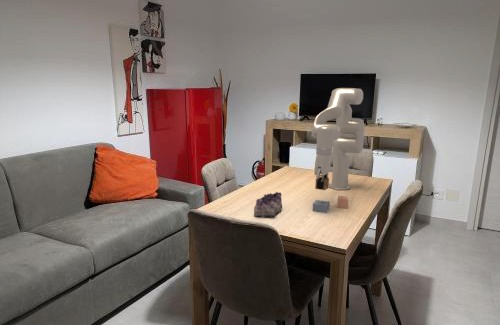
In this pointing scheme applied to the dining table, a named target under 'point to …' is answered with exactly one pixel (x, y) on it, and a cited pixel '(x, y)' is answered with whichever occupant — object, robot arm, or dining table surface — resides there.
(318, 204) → the blue-grey square box
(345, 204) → the terracotta cube
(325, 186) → the walnut cube
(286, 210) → the dining table surface
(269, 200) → the geode
